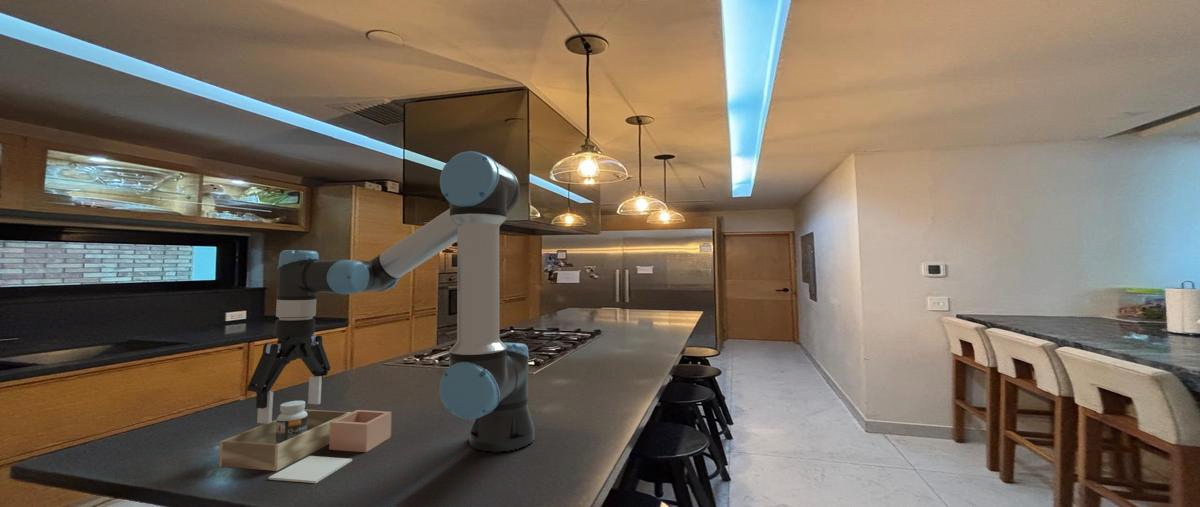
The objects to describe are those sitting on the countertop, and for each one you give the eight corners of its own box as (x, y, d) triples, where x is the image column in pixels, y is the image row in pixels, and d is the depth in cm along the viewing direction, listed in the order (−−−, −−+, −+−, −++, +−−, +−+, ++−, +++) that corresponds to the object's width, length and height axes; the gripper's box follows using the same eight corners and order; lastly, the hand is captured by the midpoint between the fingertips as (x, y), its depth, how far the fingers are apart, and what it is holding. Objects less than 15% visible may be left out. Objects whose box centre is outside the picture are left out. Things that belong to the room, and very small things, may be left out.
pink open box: (390, 437, 107) (391, 411, 107) (366, 452, 98) (367, 424, 98) (356, 434, 108) (357, 409, 108) (329, 449, 99) (330, 422, 99)
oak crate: (302, 429, 111) (303, 409, 111) (350, 432, 109) (351, 412, 110) (219, 466, 90) (220, 441, 90) (277, 470, 88) (278, 445, 89)
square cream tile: (352, 460, 93) (352, 458, 93) (315, 483, 83) (315, 481, 83) (309, 457, 95) (309, 455, 95) (268, 479, 85) (268, 477, 85)
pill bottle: (290, 454, 96) (292, 408, 97) (268, 451, 98) (270, 406, 98) (312, 444, 102) (314, 400, 102) (291, 442, 103) (293, 398, 104)
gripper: (322, 312, 114) (318, 396, 113) (228, 323, 89) (222, 430, 88) (349, 313, 113) (345, 397, 112) (261, 325, 88) (255, 433, 87)
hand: (291, 412), depth 100 cm, fingers open, 13 cm apart
